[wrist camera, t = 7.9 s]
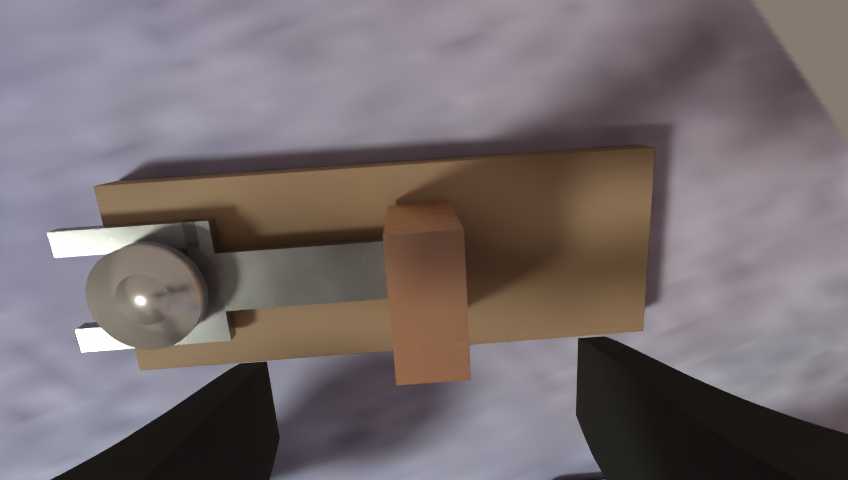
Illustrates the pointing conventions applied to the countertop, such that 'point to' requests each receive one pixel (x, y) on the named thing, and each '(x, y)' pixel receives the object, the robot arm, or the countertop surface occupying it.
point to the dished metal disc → (147, 295)
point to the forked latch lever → (320, 281)
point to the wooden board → (483, 233)
